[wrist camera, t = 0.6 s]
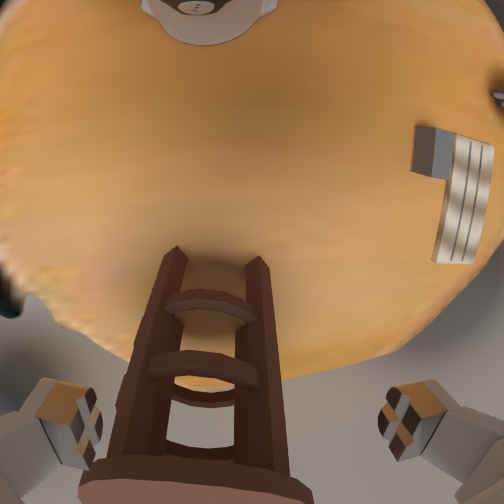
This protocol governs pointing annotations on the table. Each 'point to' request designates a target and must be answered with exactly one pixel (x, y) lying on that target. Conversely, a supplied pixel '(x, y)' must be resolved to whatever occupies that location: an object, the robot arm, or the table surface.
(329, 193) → the table surface
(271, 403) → the stool
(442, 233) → the board
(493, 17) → the table surface
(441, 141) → the block
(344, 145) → the table surface
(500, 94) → the toy
